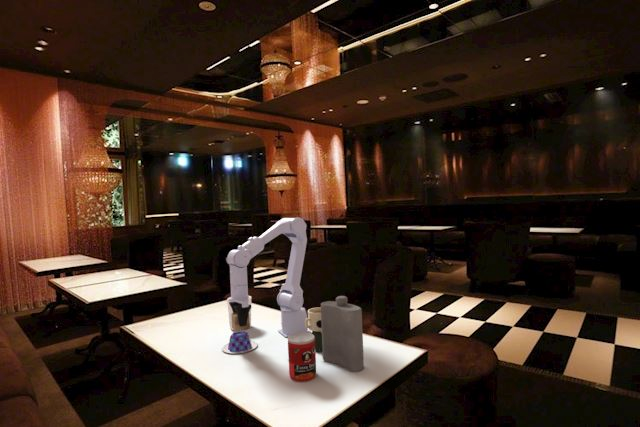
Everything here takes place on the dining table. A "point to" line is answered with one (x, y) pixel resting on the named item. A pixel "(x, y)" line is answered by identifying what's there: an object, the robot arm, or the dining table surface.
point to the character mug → (315, 326)
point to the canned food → (302, 356)
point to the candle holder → (232, 312)
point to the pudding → (239, 343)
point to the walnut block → (236, 323)
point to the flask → (342, 334)
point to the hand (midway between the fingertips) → (240, 323)
